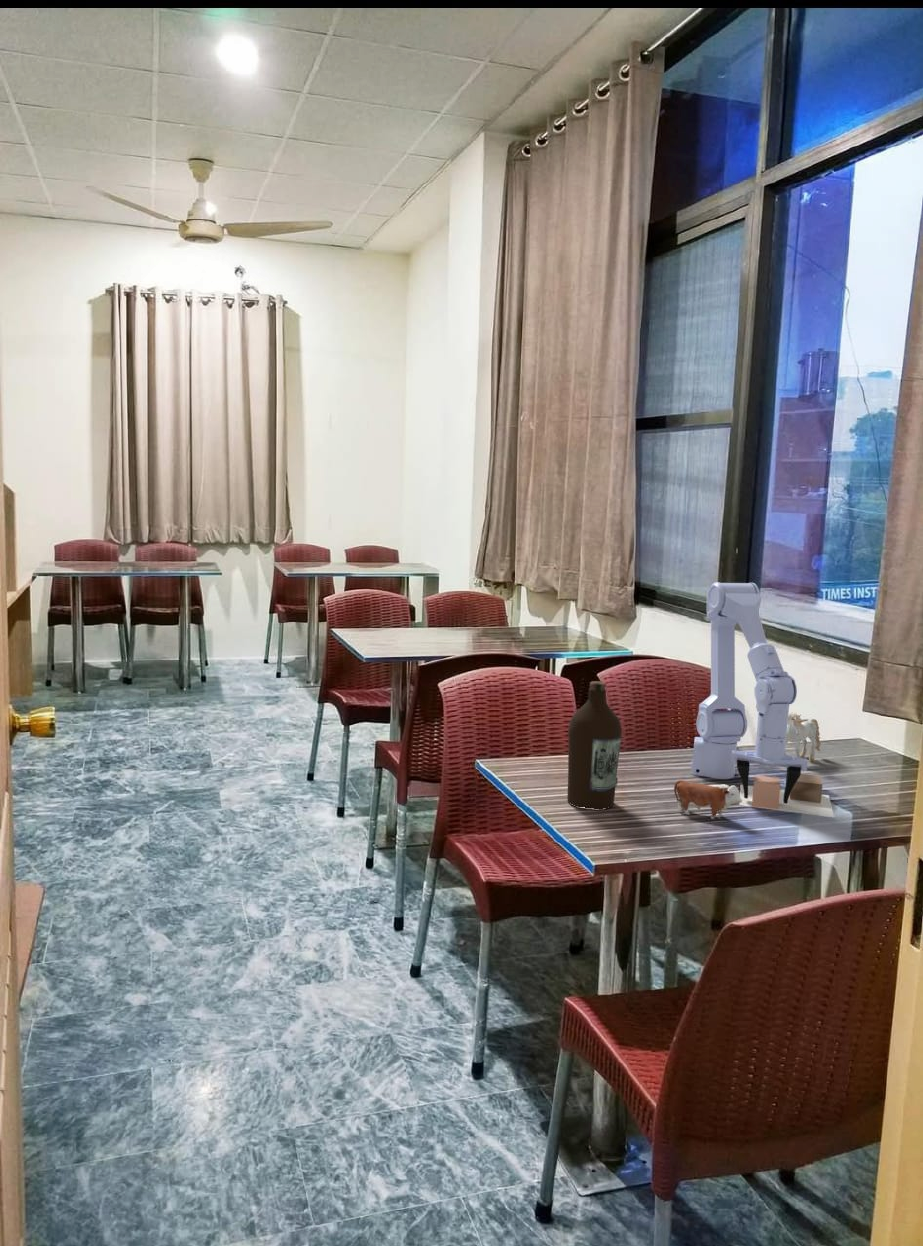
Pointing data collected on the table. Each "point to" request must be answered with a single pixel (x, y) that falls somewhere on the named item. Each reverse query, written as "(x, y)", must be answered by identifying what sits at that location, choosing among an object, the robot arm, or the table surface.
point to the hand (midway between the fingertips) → (765, 799)
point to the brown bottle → (593, 752)
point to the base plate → (793, 804)
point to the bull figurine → (706, 796)
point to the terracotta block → (766, 792)
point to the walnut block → (807, 789)
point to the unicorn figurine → (803, 734)
